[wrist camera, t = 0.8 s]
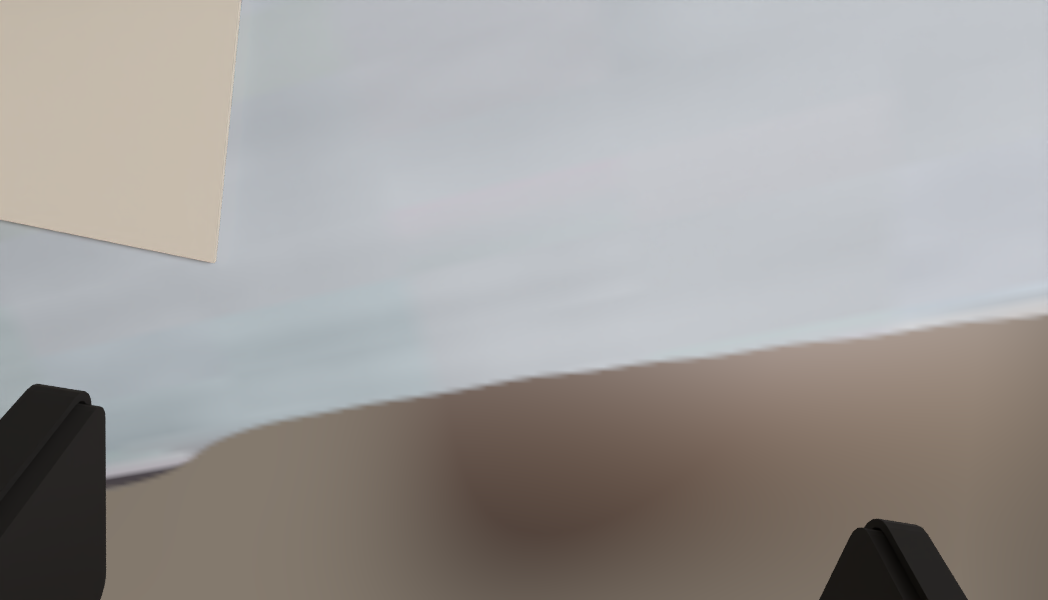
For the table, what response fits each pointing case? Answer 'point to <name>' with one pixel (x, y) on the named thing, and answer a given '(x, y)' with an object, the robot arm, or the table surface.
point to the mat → (118, 119)
